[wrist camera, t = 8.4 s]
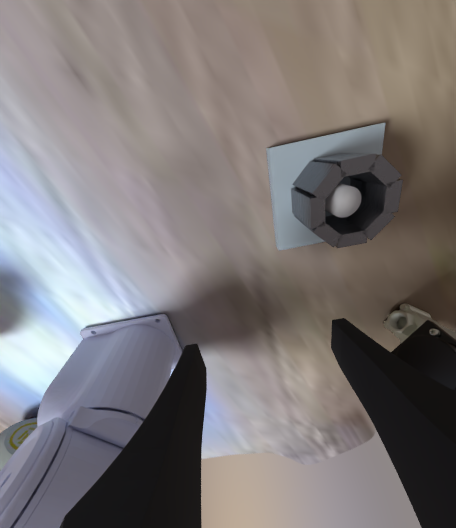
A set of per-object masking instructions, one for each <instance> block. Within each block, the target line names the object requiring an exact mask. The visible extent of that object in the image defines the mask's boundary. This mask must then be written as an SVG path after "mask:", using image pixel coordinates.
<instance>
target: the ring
mask: <svg viewBox="0 0 456 528" xmlns="http://www.w3.org/2000/svg"><path fill="white" fill-rule="evenodd" d="M346 176H348V177H349V178H350V186H352V187H355V188H357V189H358V190H359V191H360V193H361V203H360V206H359V208H358V209H357V210H356V211H355V212H354V213H353V214H352V215H350V216H348V217H343V218H341V217H337V216H335V215H331V216H326V217H325V199H326V198H327V197H328V196H329V194H330V193H331V192H332V191H333V190H334V188H335V187H336V186H337V185H338V184H339V182H340V181H341V180H342V179H343V178H344V177H346ZM400 176H401V174H400V173H399V172H398V171H397V170H396V169H395V168H394V167H393V166H392V165H391V164H390V163H389V162H388V161H387V160H386V159H385V158H384V157H383V156H382V155H379V154H376V153H337V154H333V155H328V156H323V157H319V158H314V162H312V161H309V163H308V164H307V165H306V167H305V168H304V169H303V171H302V172H301V173H300V175H299V176H298V177H297V179H296V180H295V181H294V183H293V184H292V185H294V186H295V187H296V188H291V200H292V213H293V214H294V217H296V218H297V219H298V220H299V221H300V222H301V223H302V224H304V225H305V226H306V227H307V228H308V229H309V230H311V231H312V232H313V233H314V234H316V235H317V236H318V237H320V238H321V239H323V240H324V241H325V242H327V243H328V244H329V245H331V246H332V247H334V246H336V247H337V248H341V247H346V246H352V245H357V244H362V243H367V238H368V239H370V240H372V239H373V238H374V237H375V236H376V235H377V234H378V233H379V232H380V231H381V230H382V229H383V228H384V227H385V226H386V225H387V224H388V223H389V222H390V221H391V220H392V219H393V218H394V217H395V216H394V215H393V214H392V213H393V212H398V207H399V201H400V195H401V189H402V183H403V180H401V179H398V178H399V177H400Z"/></svg>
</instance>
